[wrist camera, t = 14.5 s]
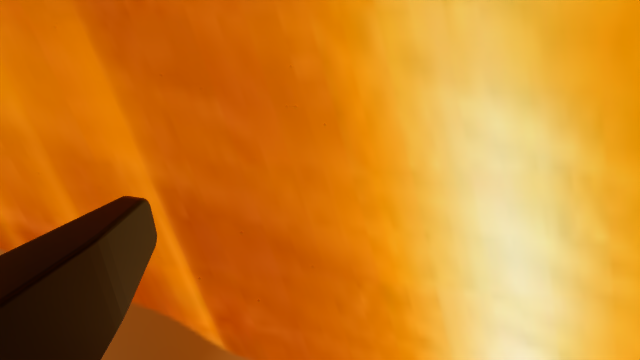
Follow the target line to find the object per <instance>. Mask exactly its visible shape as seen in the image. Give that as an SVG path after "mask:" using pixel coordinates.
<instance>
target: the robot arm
mask: <svg viewBox="0 0 640 360" xmlns="http://www.w3.org/2000/svg"><path fill="white" fill-rule="evenodd" d="M156 241H157V232H156V228H155V224H154V219H153V215H152V211H151V207H150V204H149V202H148V201H147V200H146V199H144V198H138V197H131V196H123V197H121V198H119V199H117V200H114V201H112V202H110V203H108V204H106V205H104V206H102V207H100V208H98V209H96V210H94V211H92V212H90V213H87V214H85V215H83V216H81V217H79V218H77V219H75V220H73V221H71V222H69V223H67V224H65V225H62V226H60V227H58V228H56V229H54V230H52V231H50V232H48V233H46V234H44V235H42V236H40V237H38V238H35V239H33V240H31V241H29V242H27V243H25V244H23V245H21V246H19V247H17V248H15V249H13V250H10V251H8V252H6V253H4V254H2V255H0V360H101V358H102V357H103V355H104V353H105V351H106V350H107V348H108V346H109V344H110V343H111V341H112V339H113V337H114V335H115V334H116V332H117V330H118V328H119V326H120V325H121V323H122V321H123V319H124V317H125V315H126V313H127V310H128V308H129V306H130V304H131V302H132V299H133V297H134V295H135V292H136V290H137V288H138V285H139V283H140V281H141V278H142V276H143V274H144V271H145V269H146V267H147V265H148V262H149V260H150V258H151V255H152V253H153V251H154V248H155V246H156Z"/></svg>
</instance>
